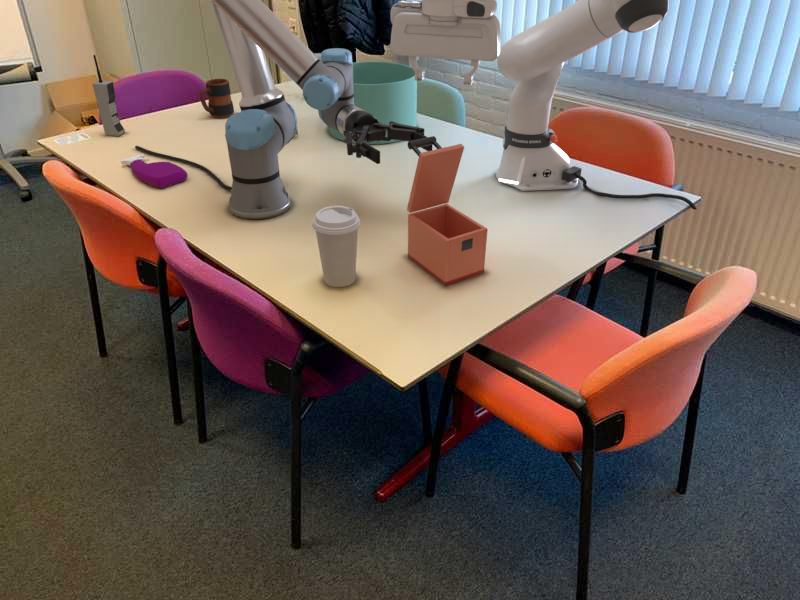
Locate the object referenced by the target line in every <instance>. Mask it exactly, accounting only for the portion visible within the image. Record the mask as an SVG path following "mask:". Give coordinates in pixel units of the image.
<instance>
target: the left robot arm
mask: <svg viewBox="0 0 800 600" xmlns="http://www.w3.org/2000/svg"><path fill="white" fill-rule="evenodd" d="M209 2H210V5H211V9H212V11H213V14H214V17H215V20H216V22H217V23H216V24H217V26H218V29H219V32H220V35H221V37H222V40H223V43H224V46H225V50H226V53H227V55H228V58H229V60H230V64H231V67H232V70H233V73H234V75H235V79H236V81H237V84H238V87H239V90H240V93H241V99H240V100H239V103H238V106H239V109H240V112H239V111H237V112H234V113H233V115H231V116H230V117H227V119H226V121H225V124H224V131H225V133H224V134H225V135H224V138H225V141H226V146H227V152H228V158H229V165H230V169H231V170H230V171H231V177H232V184H231V186H230V185H227V184H225V183H224V182H223V181H222V180H221V179H220V178H219V177H218V176H216V174H215V173H213V172H212V171H211V170H210V169H209V168H207V167H206V166H204V165H201V164H200V163H197V162H194V161H191V160H188V159H185V158H181V157H177V156H172V155H170V154H169V155H168V154H166V153H165V154H164V153H159V152H156V151H153V150H149V149H147V148H144V147H142V146H140V145H135V146H134V149H136V150H139V151H141V152H143V153H145V154H148V155H152V156H156V157H160V158H163V159H168V160H172V161H176V162H181V163H184V164H187V165H190V166H193V167H195V168H198V169H200V170H202V171H203V172H205V173H207V174H208V175H209V176H210V177H211V178H213V179H214V180H215V181H216V182H217V183H218V185H220V186H221V187H222V188H223V189H225V190H227V191H230V197H229V199H228V206H229V212H230V213H231V214H232V215H233V216H235V217H237V218H240V219H246V220H264V219H269V218H274V217H278V216H279V215H280V216H281V215H282V214H283V213H286V212H287V211H288V210H289V209H290V207H291V198H290V195H289V193H290V186H289V185H290V184H289V183H288V185H287V186H288V187H287V190H288V192H287V190H286V187H285V184H284V182H283V180H282V178H281V173H280V163H279V154H280V152H281V151H282V150H283V148H284V147H285V146H287V145H288V144H289V143H290V142H291V141H292V139H293V138H294V136H295V135H294V134H295V132H296V129H297V130H298V117H297V113H296V111H295V108H294V107H293V105H291V104H290V103H289V102H287V100H286V98H285V94H284V92H283V90H281V89H279V88H278V87H276V85H275V82H274V79H273V76H272V75H273V74H272V72H271V69H270V66H269V63H268V59H267V57H268V58H270V59H271V60H272V62H273V63H274V64H276V65H277V67H279V68H280V70H282V71H283V72H284V73H285V74H286V75H287V76H288V77H289V78H290V79H291V80H292V81H293V82H294V83H295V84H296V85H297V86H298V87H299V88H300V90H302V96H303V99H304V101H305V103H306V104H307V105H308V106H309V107H310V108H312V109H314V110H317V112H318V117H319V118H320V120H321V121H322V122H323V123H324V124H325V125H326V126H327V128H328V127H330V128H332V129H335V130H337V131H339V132H340V133H341V134H344V141H343V142H344V143H345V144H346V152H347V156H353V155H354V154H355V158H357V159H361V158H367V159H368V160H370V161H372V162H373V163H375V164H376V165H379V164H381V151H380V150H379V149H377V148H375V147H374V146H372V145H371V144H369V143H371V142H373V141H380V140H383V141H390V140H391V139H392V140H400V141H403V142H409V141H413V140H418V139H422V138H427V137H428V136H426V135H425V128H423V127H420V126H416V127H414V126H408V125H403V124H398V123H396V122H393V121H391V122H389V125H383V124H381V123H379V122H378V120H377V119H376V117H375V116H373V115H372V114H370V113H368V112H366V111H364V110H362V109H360V108H358V107H356V106H354V91H353V63H354V62H353V54H352V51H350V50H349V49H346V48H339V47H334V48H327V49H324V50H323V51H322V52H320V53H321V61H320V60H319V59H318V58H317V57H316V56H315V55H314V54H313V53H314V52H313V51H312V50H311V49H310V48H309V47H308V46H307V45H306V44H304V43H303V41H302V40H301V39H300V38H299V37H298V36H297V35H296V34H295V33H294V32H293V31H292V30H291V29H290V28H289V27H288V26H287V25H286V24H285V23H284V22H283V21H282V20H281V18H279V17H278V16H277V15H276V14H275V13H274V12H273V11H272V10H271V9H270V8H269V7H268V6H267V5H266V4H265V3H264V2H263V0H209ZM266 56H267V57H266ZM386 131H387V134H388V137H385V136H386ZM352 140H353V141H355V142H356V143H355V144H354V143H352ZM420 149H423V150H425V151H426V152H427V151H432V150H433V145H429V146H424V147H420Z"/></svg>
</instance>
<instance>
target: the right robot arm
mask: <svg viewBox="0 0 800 600" xmlns="http://www.w3.org/2000/svg"><path fill="white" fill-rule="evenodd" d="M669 5H670V3H669V0H577V1H575V2H574V3H572V4H570V5H569V6H567V7H565V8H564V9H562V10H560V11H558V12H557V13H556V12H555V14H553V15H551V16H549V17H547V18H545V19H543V20H541V21H539V22H537V23H536V24H534V25H532V26H531V27H529V28H527V29H525V30H523V31H521V32H520V33H518V34H516V35H515V36H513V37H511V38H510V39H509V40H507V41H506V42H505V43H504V44H502V35H501V34H502V32H501V24H500V20H499V18H498V17H497V16H496V15H495V14H496V12H497V8H498V2H497V1H496V0H410V1H408V0H398V1H397V2H396V3H394V4H393V5H392V6H391V9H390V23H391V25H392V26H391V32H390V45H389V46H390V51H391V52H392V54H393V55H394V56H401V57H402V56H403V57H404V56H405V57H408V63H409V66H410V67H412V68H413V70H414V72H415V81H417V82H423V81H424V80H425V73H426V72H425V69H421V68H420V66H419V63H418V61H419V60H420V58H431V59H432V58H433V59H434V58H435V59H449V60H465V61H470V67H472V69H471V70H470V72H466V73H465V74H463V85H465V86H472V85H473V83H474V75H475V73H476V72H477V70H478V68H479V67H480V65H481V62H495V61H496V63H497V67H498V70H499V72H500V74H501V75H502V76H503V77H504V78H505V79H507V80H508V81H511V82H516V84H515V85H514V86H515V87H514V89H512V92H511V94H510V95H509V98H508V103H507V104H508V106H507V114H506V115H507V117H506V125H505V127H504V131H503V135H502V136H503V137H502V148H503V149H502V151H503V152H502V154H501V159H500V162H499V167H498V169H497V172H496V175H495V177H496V180H498V182H501V183H502V184H504V185H507V186H511V187H515V189H517V190H519V191H522V192H529V191H530V192H531V191H550V190H551V191H552V190H572V189H576V188H577V186H578V184H579V180H580V181H581V182H582V187H583V189H584V190H585V191H587V192H590V193H592V194H594V195H596V196H599V197H604V198H609V199H610V198H611V199H618V200H619V199H624V200H626V199H627V200H629V199H631V200H633V199H634V200H635V199H637V200H638V199H647V198H663V199H664V198H665V199H675V200H679V201H683V202H684V203H686V204H687V205H688V206H689V207H690V208H691V209H692V210H698V209H697V207H696V205H695V204H694V202H693V201H691V200H690V199H689V198H688V197H685V196H683V195H678V194H672V193H671V194H670V193H660V192H654V193H653V192H651V193H645V194H644V193H643V194H615V193H614V194H613V193H608V192H602V191H596V190H593V189H591V188H590V187H589V186H588V184H587V183H588V182H587V179H586V178H585V177H583V176H582V168H581V167H578V166H575V165H573V166H572V163H571V159H570V157H569V155H568V154H567V153H566V152H565V151H564V150H563V149H561V148H560V147H559V146H558V145H557V143H558V141H559V138H558V135H557V134H555V131H554V130H553V129H552V127H551V128H549V122H550V114H551V110H552V109H551V108H552V102H553V98H554V94H555V91H556V88H557V85H558V83H559V79H560V77H561V73H562V70H563V67H564V65H565V64H566V62H567V61H569V60H571V59H574V58H575V57H577V56H580V55H582V54H584V53H585V52H587V51H590V50H591V49H593V48H594V47H596V46H599V45H601V44H602V43H604V42H606V41H607V40H609V39H611V38H613V37H615V36H617V35H618V34H620V33H622V32H623V31H626V32H627V33H631V34H632V33H634V34H635V33H640V32H644V31H647V30H649V29H651V28H653V27H655V26H657V25H658V24H660V23H661V22H663V20H664V19H665V17H666V16H667V15H668V12H669V8H670V7H669Z"/></svg>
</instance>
